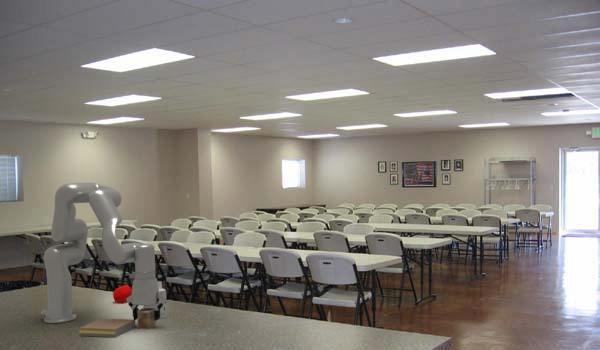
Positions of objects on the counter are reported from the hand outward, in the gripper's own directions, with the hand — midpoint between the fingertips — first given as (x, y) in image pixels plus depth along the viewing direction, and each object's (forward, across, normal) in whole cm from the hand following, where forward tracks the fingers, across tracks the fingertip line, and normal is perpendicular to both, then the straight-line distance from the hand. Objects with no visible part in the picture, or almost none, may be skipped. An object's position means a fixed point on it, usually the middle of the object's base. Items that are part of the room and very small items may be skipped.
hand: (146, 319), depth 221 cm
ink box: (+3, -4, +14) cm, 15 cm away
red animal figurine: (+3, -36, +41) cm, 55 cm away
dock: (+3, -12, -8) cm, 15 cm away
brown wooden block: (+3, 0, 0) cm, 3 cm away
